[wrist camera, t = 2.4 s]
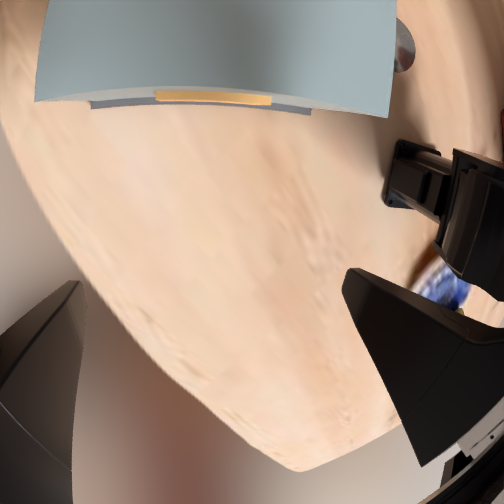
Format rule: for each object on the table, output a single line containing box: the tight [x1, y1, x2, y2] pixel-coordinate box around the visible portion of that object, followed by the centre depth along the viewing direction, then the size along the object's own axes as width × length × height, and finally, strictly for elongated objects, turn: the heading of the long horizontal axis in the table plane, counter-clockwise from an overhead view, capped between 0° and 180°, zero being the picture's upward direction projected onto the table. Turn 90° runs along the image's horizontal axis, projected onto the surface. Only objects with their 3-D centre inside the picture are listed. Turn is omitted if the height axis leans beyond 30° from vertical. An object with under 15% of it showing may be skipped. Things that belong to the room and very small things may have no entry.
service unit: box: [34, 0, 396, 118], centre depth 11 cm, size 15×9×10 cm, turn 84°
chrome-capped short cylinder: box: [393, 18, 415, 72], centre depth 15 cm, size 4×4×5 cm
